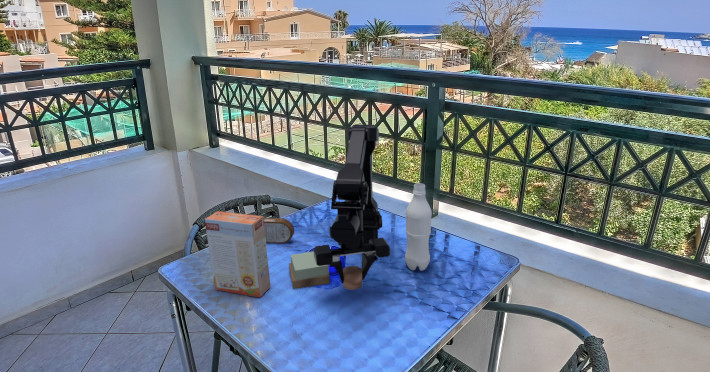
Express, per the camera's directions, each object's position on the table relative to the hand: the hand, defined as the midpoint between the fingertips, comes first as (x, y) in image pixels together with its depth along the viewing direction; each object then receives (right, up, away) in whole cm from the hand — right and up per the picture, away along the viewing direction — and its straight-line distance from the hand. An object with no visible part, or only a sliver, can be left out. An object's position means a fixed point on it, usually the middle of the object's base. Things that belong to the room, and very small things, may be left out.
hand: (352, 280), depth 108 cm
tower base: (-12, -2, +10) cm, 16 cm away
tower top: (-12, +1, +9) cm, 15 cm away
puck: (0, -1, 0) cm, 1 cm away
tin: (-27, +6, +30) cm, 41 cm away
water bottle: (+19, +1, +13) cm, 23 cm away
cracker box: (-29, -3, +5) cm, 30 cm away
